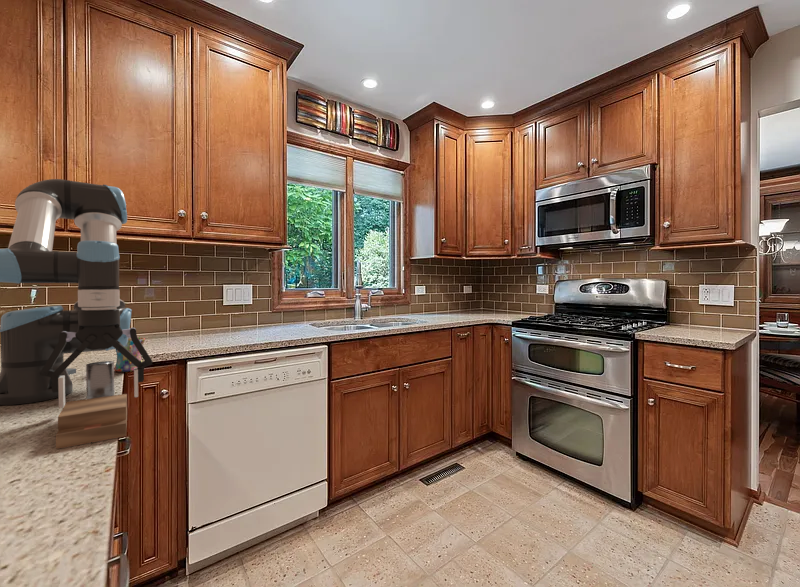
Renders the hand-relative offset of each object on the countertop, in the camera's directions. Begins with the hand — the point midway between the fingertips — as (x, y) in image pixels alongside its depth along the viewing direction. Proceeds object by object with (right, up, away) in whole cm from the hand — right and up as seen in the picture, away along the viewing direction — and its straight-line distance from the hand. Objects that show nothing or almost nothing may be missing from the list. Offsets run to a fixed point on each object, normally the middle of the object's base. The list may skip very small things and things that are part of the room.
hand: (100, 400), depth 87 cm
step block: (+8, -3, -11) cm, 14 cm away
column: (0, -2, 0) cm, 2 cm away
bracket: (-40, -2, +33) cm, 52 cm away
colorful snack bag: (-23, -2, +41) cm, 46 cm away
